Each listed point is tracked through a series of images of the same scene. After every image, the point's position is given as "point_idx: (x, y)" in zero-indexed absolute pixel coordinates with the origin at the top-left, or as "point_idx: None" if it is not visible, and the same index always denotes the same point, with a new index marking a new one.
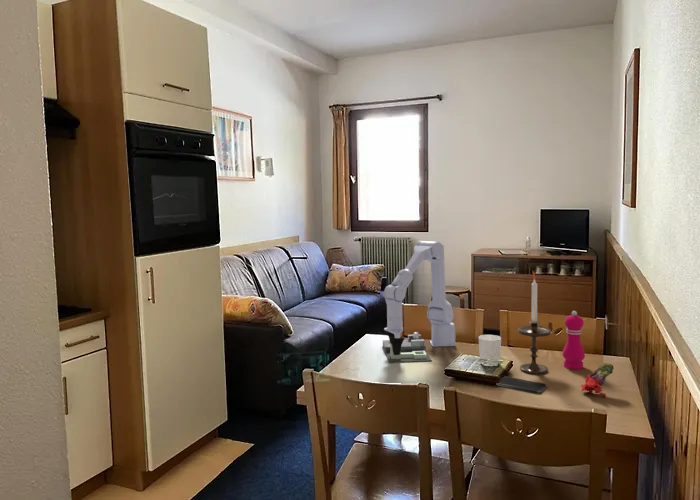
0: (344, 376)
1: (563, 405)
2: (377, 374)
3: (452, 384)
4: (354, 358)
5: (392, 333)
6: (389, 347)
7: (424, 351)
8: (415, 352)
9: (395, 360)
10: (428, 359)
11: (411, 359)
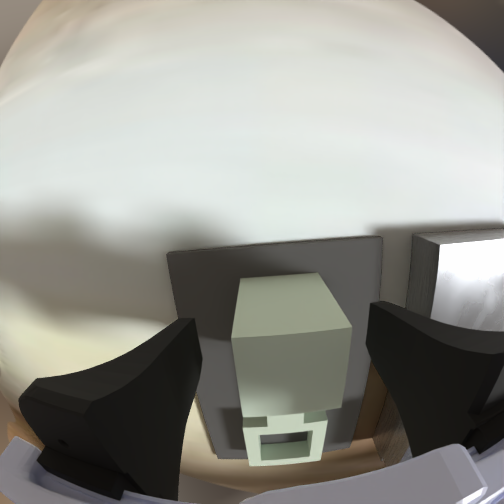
0: (12, 46)
1: None
2: (3, 186)
3: (21, 417)
4: (296, 4)
5: (451, 415)
6: (434, 280)
7: (305, 460)
8: (311, 429)
9: (203, 305)
10: (229, 452)
11: (229, 397)
